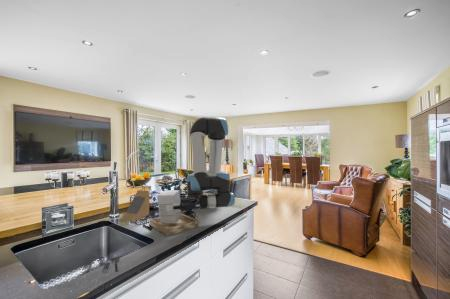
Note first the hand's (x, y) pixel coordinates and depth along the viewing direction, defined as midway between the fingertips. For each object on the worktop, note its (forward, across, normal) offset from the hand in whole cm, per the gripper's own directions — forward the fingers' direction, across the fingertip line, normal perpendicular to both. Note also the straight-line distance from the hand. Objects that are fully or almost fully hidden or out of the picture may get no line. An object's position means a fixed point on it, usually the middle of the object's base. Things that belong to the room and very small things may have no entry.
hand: (166, 205), depth 110 cm
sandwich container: (+18, +23, -12) cm, 31 cm away
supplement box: (-3, +1, -8) cm, 9 cm away
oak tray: (-4, 0, -11) cm, 12 cm away
